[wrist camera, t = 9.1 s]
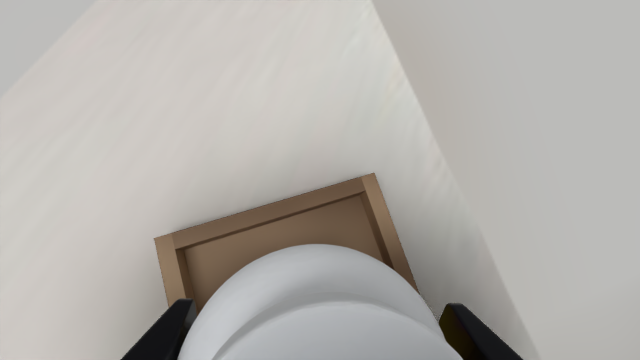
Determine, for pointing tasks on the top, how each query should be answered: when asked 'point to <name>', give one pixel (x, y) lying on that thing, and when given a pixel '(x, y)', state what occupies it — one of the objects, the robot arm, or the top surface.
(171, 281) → the walnut tray
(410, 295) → the supplement bottle
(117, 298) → the top surface
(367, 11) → the top surface
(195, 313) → the robot arm
